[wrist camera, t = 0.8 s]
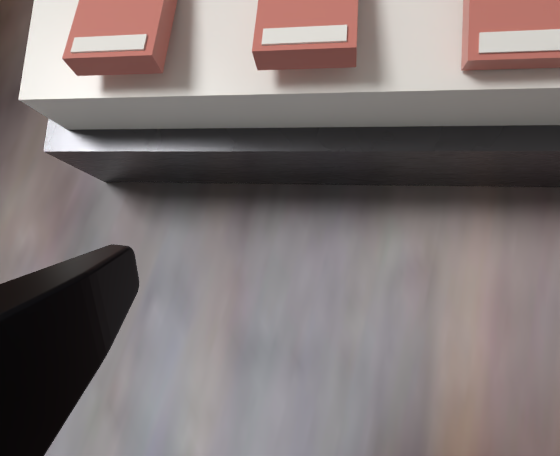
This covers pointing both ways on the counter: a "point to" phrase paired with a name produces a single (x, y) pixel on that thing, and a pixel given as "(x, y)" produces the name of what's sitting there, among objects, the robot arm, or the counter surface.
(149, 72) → the rocker
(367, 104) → the power strip
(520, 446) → the counter surface
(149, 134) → the stand
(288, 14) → the rocker middle
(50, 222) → the counter surface
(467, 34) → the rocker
